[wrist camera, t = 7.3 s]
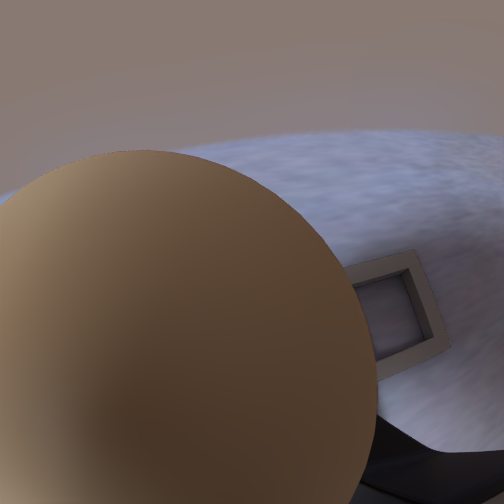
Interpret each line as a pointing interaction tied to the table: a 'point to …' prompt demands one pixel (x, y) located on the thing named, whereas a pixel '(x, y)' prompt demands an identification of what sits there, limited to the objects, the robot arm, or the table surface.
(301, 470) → the dowel
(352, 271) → the holder
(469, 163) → the table surface
